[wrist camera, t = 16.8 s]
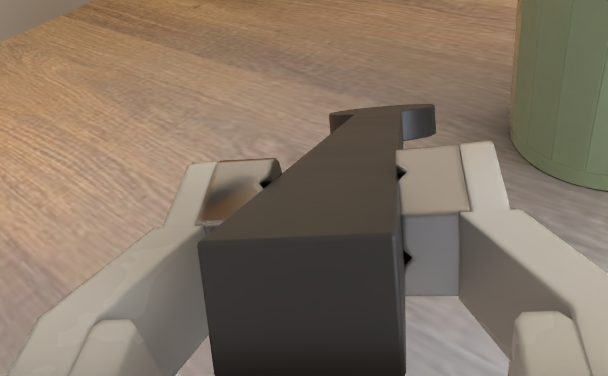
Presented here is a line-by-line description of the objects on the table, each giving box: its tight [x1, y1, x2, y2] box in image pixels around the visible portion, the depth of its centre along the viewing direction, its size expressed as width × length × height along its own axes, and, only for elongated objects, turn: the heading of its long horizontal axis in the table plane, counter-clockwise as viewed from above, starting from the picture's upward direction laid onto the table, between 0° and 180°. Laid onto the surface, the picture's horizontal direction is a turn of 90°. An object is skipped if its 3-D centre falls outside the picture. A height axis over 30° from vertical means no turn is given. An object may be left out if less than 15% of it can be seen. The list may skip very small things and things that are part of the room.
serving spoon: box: [197, 104, 436, 376], centre depth 18 cm, size 26×5×2 cm, turn 173°
